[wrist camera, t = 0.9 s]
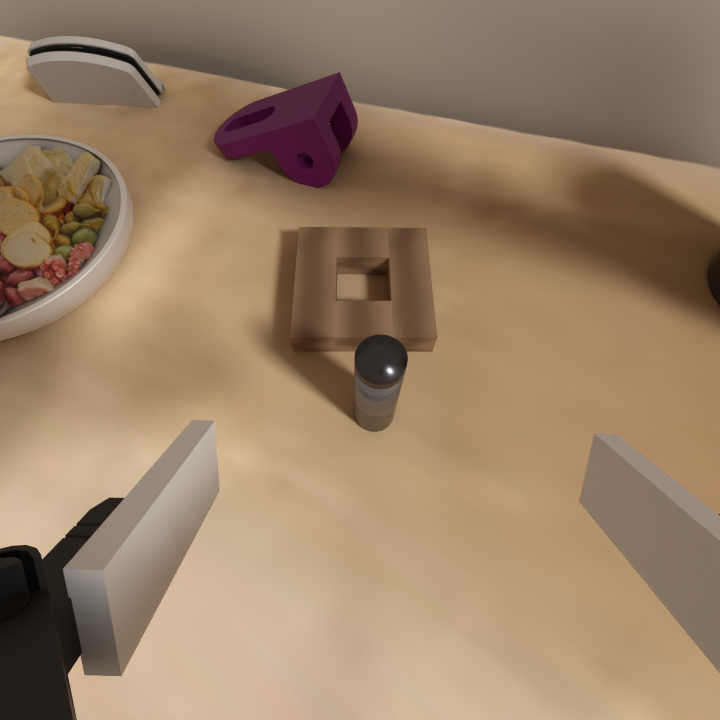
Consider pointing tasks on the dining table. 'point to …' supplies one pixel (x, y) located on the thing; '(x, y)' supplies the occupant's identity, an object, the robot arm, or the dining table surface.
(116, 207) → the bowl
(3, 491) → the dining table surface
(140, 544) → the robot arm
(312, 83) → the mounting bracket
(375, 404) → the grey and black cylinder
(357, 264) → the socket block
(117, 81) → the napkin holder
